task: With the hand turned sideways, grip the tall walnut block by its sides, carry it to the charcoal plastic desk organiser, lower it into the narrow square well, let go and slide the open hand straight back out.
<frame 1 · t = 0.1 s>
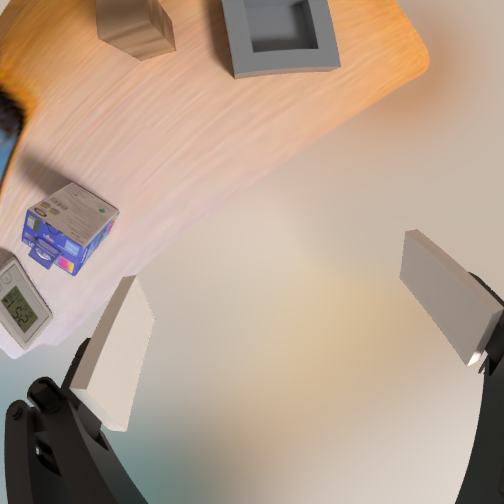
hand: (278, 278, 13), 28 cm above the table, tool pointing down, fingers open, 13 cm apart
organiser: (275, 31, 29), on the table
digital clock: (29, 288, 44), on the table
walnut block: (156, 40, 28), on the table
ink cartridge box: (89, 209, 38), on the table
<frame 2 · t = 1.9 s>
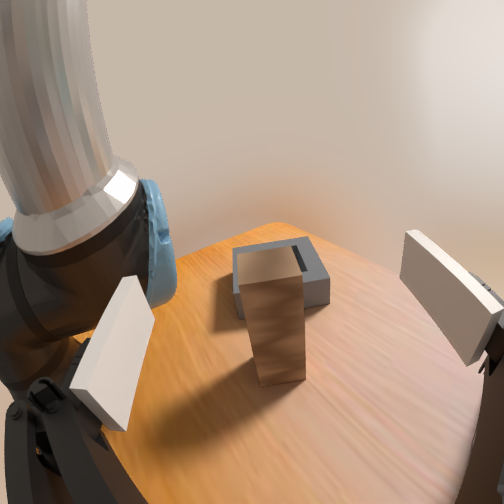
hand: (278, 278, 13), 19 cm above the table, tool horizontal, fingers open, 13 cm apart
organiser: (278, 285, 45), on the table
walnut block: (280, 366, 30), on the table
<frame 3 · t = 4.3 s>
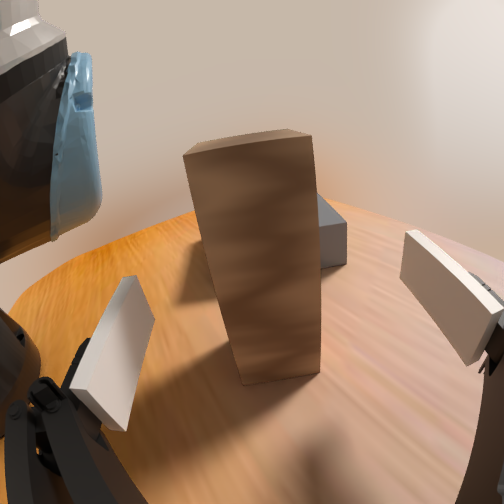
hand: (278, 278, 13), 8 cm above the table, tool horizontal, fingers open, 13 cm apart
organiser: (274, 245, 33), on the table
walnut block: (276, 352, 19), on the table
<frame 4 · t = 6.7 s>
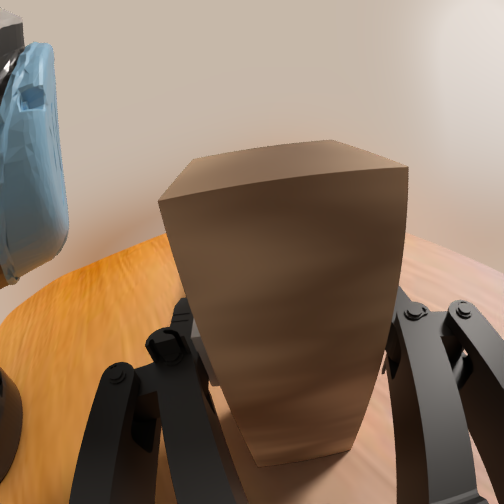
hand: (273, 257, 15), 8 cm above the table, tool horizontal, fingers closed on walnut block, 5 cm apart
walnut block: (298, 423, 14), on the table, touching gripper
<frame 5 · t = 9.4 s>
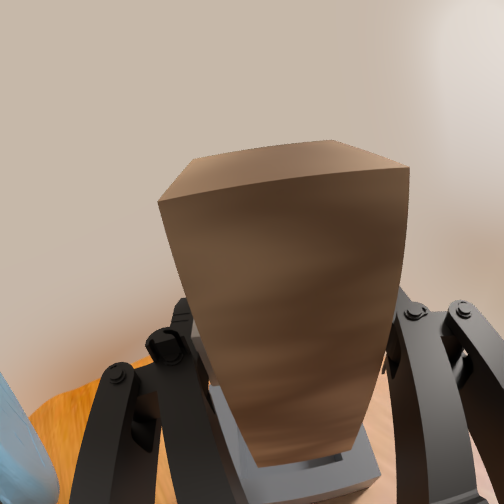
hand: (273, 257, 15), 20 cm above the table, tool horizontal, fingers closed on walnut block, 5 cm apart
organiser: (287, 448, 22), on the table
walnut block: (298, 423, 14), point 12 cm above the table, touching gripper
when the fingers open (10 cm above the table, at t = 12.2 s): walnut block drops 1 cm, resting on organiser.
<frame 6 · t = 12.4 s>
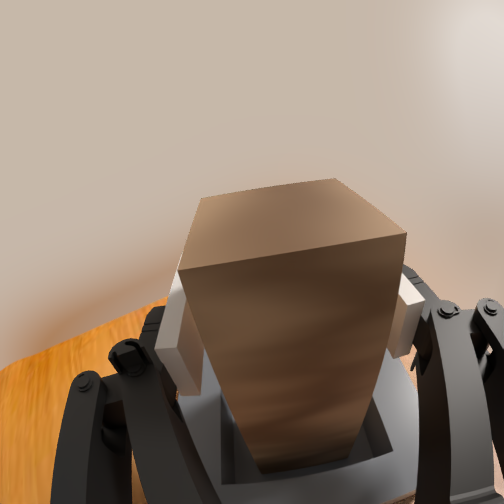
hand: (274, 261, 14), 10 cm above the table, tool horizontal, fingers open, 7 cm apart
organiser: (298, 438, 15), on the table
walnut block: (298, 433, 14), point 1 cm above the table, touching organiser
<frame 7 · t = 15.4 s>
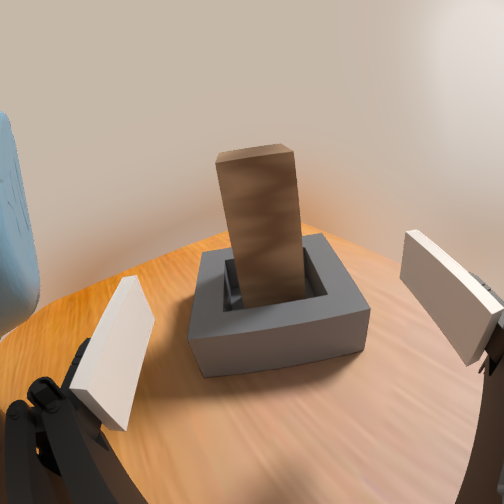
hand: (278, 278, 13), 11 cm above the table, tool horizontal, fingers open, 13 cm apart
organiser: (275, 314, 26), on the table
walnut block: (274, 307, 26), point 1 cm above the table, touching organiser
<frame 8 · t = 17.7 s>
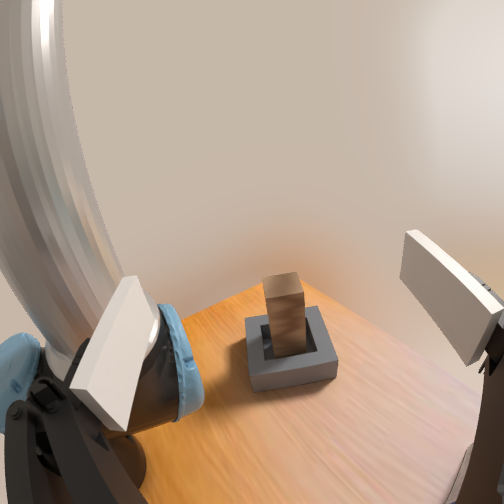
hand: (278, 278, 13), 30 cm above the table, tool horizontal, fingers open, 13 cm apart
organiser: (289, 355, 45), on the table
walnut block: (288, 352, 45), point 1 cm above the table, touching organiser
ink cartridge box: (471, 480, 17), on the table
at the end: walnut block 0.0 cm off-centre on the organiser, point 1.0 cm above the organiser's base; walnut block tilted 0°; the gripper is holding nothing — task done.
